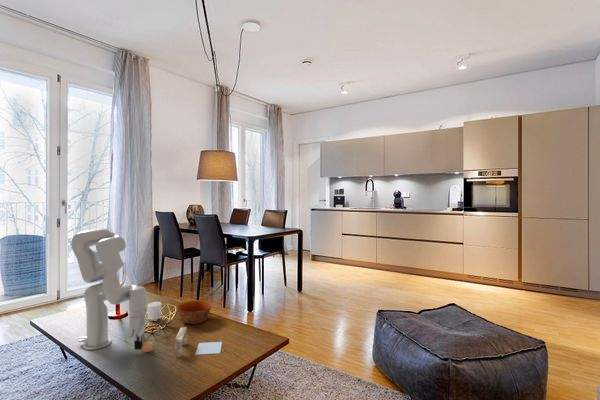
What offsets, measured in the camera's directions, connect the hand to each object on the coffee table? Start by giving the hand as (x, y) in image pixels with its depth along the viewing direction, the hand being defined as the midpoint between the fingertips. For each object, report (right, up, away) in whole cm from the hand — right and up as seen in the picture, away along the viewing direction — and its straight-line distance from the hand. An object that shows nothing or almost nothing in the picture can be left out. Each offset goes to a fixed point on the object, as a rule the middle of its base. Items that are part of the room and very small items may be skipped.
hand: (138, 348), depth 163 cm
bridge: (+20, -2, +4) cm, 20 cm away
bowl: (+15, -1, +39) cm, 42 cm away
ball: (+4, 0, +1) cm, 4 cm away
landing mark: (+34, -3, +6) cm, 34 cm away
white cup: (-10, -1, +40) cm, 42 cm away
